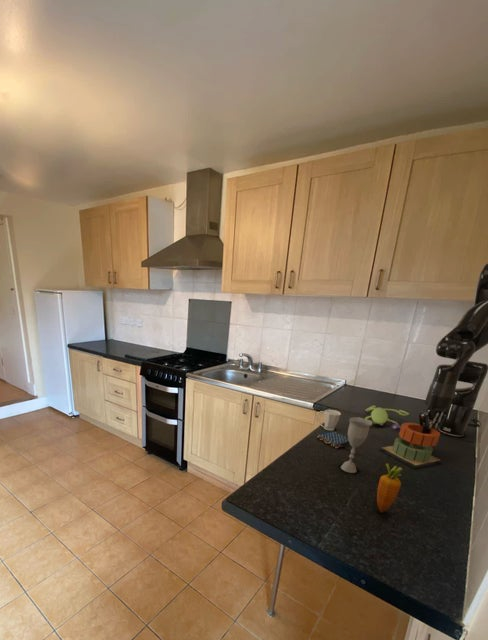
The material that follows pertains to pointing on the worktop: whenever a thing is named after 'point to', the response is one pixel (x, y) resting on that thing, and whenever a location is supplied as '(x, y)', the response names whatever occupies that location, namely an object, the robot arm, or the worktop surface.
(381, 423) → the figurine
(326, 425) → the cup
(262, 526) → the worktop surface
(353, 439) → the chalice
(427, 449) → the green ring
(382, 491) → the carrot
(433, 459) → the ring stand
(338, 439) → the woven mat
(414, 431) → the orange ring
